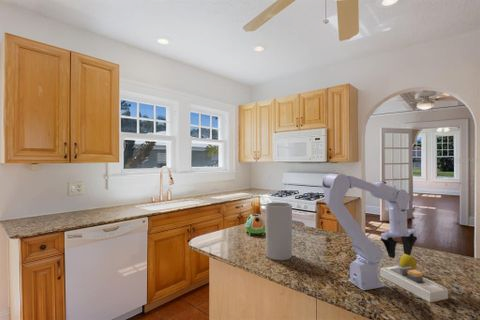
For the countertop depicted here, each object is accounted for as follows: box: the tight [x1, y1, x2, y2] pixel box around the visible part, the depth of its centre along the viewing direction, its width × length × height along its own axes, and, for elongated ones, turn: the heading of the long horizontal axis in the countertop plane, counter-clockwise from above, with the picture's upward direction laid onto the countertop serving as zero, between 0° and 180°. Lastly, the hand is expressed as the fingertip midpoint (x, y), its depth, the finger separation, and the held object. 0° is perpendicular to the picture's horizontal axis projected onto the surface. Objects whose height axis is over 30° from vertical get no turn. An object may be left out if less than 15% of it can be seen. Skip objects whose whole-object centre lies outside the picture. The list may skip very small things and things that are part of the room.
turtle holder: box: [245, 213, 266, 237], centre depth 164 cm, size 12×18×12 cm
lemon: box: [399, 254, 417, 270], centre depth 105 cm, size 6×6×8 cm
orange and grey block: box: [408, 269, 424, 284], centre depth 92 cm, size 3×3×6 cm
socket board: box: [379, 264, 449, 303], centre depth 94 cm, size 20×8×4 cm, turn 16°
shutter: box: [390, 267, 412, 276], centre depth 98 cm, size 5×5×3 cm
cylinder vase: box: [265, 201, 293, 261], centre depth 124 cm, size 12×12×25 cm
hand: (399, 255), depth 97 cm, fingers open, 7 cm apart
